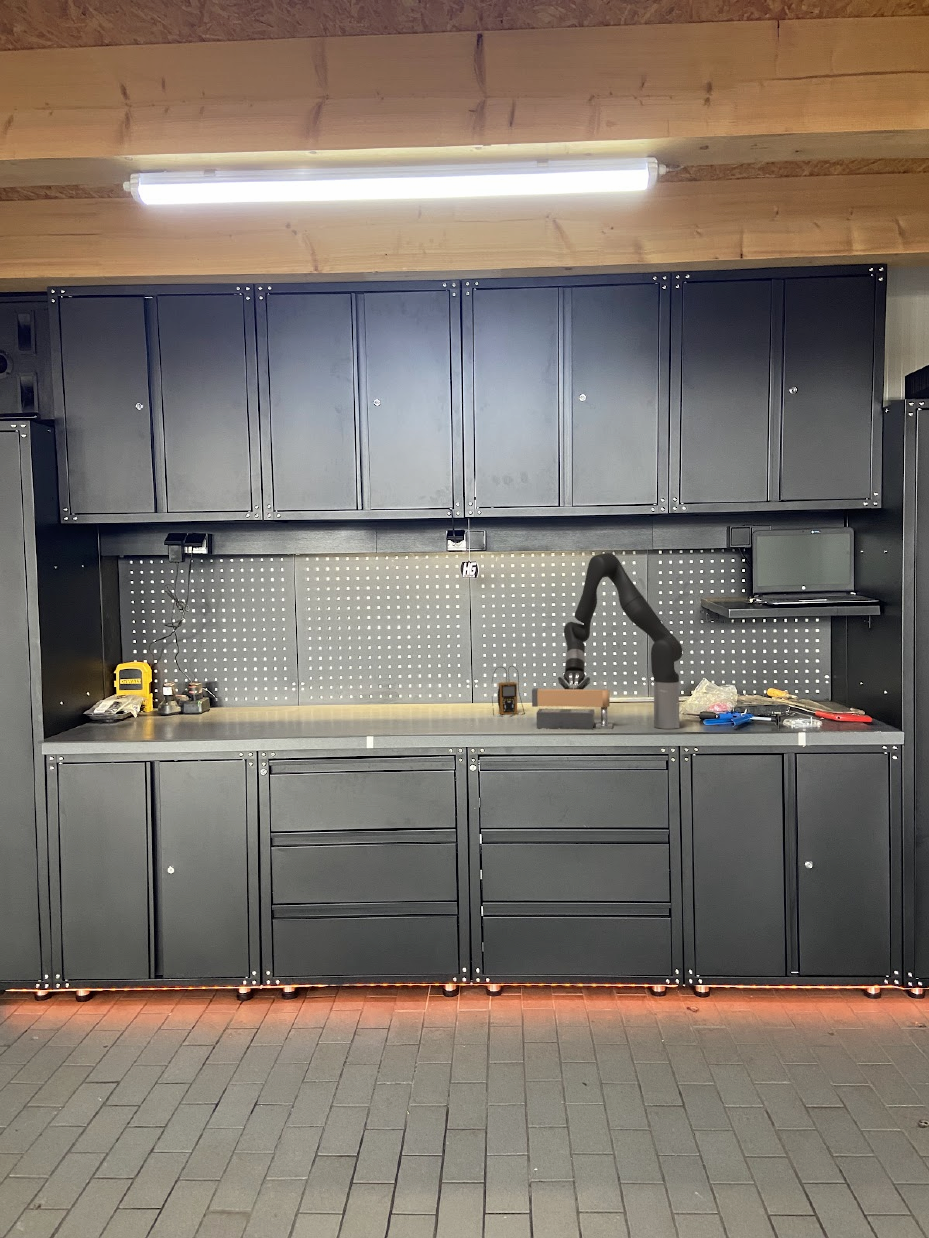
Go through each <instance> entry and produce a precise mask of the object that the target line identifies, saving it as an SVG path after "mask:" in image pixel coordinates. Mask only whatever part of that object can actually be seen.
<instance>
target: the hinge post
mask: <svg viewBox="0 0 929 1238" xmlns="http://www.w3.org/2000/svg"><path fill="white" fill-rule="evenodd" d="M612 726H613V727H614V725H613V723H608V707H600V722H596V724H595V729H596V728H606V729H607V730H612V729H613V727H612Z"/></svg>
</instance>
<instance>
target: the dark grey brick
mask: <svg viewBox="0 0 929 1238" xmlns="http://www.w3.org/2000/svg"><path fill="white" fill-rule="evenodd" d="M593 727H595V709H591V708H589V709H588V708H583V709H582V708H580V709H579V708H539V709H538V710H537V711H536V729H542V728H546V729H548V728H549V730H550V729H552V730H594V728H593ZM556 728H557V729H556ZM558 728H560V729H558ZM542 730H543V729H542Z"/></svg>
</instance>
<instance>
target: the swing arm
mask: <svg viewBox="0 0 929 1238" xmlns="http://www.w3.org/2000/svg"><path fill="white" fill-rule="evenodd" d="M610 698H611V697H610V690H609V689H583V690H580V689H574V688H573V689H564V688H561V689H560V688H557V689H556V688H555V689H554V688H551V689H550V688H538V687H537V688H532V690H531V707H535V708H536V707H537V708H538V707H563V708H564V707H565V708H566V707H573V708H576V707H577V708H583V707H584V708H601V707H607V708H609V707H610V706H611V705H610V701H611V700H610Z"/></svg>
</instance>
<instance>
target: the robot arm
mask: <svg viewBox="0 0 929 1238" xmlns="http://www.w3.org/2000/svg"><path fill="white" fill-rule="evenodd" d="M603 578H608V579H609V580H610V581H611V582H612V584H613V585H614V586H615V588H616V591H617V594H618V601H619V605H620V608H621V610H622V611H623V612H624V614H625V615H626V616H627V619H629V620H630V621H631V622H632V623H633V624H634V625H635V626H636V627H638V628H639V629H640V630H642V631H643V632H644V633H645V634H646V635H647V636H649V637H650V639H651V641H653V644H652V646H651V651H650V663H651V674H652V676H653V727H654V728H656V729H664V730H665V729H666V730H667V729H669V730H670V729H671V730H673V729H680V675H679V673H677V672H676V670H675V662H677V661H679V660H680V659H681V658H682V656H683V647H682V645H681V643H680V641H679V639H677V638H676V637H675V636H674V635H673V634H672V633H671V632H670V630H669V629H668V628H667V627H666V626H665V625H664V623H663V622H662V621H661V619H660V618H659V617H658V615H657V614H656V612H655V611H654V610H653V608H652V607H651V605H650V604H649V603H648V601H647V600H646V599H645V597H644V595H642V593H641V592H640V591H639V590H638V588H637V587H636V585H635V584H634V582H633V581H632V580H631V578H630V577H629V575H628V574H627V572H626V570H625V568H624V566H623V565H622V563H621V561H620V560H619V558H618V557H617V556H616V555H615V554H613V553H610V552H607V553H606V552H605V553H599V554H595V555H594V556H593V555H592V557H591V558H590V559H589V561H588V565H587V569H586V575H585V580H584V585H583V590H582V593H581V597H580V599H579V602H578V605H577V607H576V610H575V611H574V618H575V619H576V620H577V621H578V622H580V623H578V622H575V621H569V622H567V623H566V624H565V626H564V627H563V636H564V639H565V642H566V647H567V649H566V657H565V663H564V664H565V666H564V667H565V668H564V673H563V675H562V676H559V677H557V679H558V680H557V681H558V683H559V684H560V686H561V687H562V689H580V690H585V688H586V687H587V686H588V685H589V684H591V678H590V676H588V677H587V676H586V674H585V665H586V661H585V660H586V659H585V657H586V656H585V650H586V646H585V642H587V641H588V640H589V638H590V634H591V623H592V619H593V616H594V614H595V612H596V609H597V605H598V594H597V593H598V587H599V584H600V582H602V579H603Z"/></svg>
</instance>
